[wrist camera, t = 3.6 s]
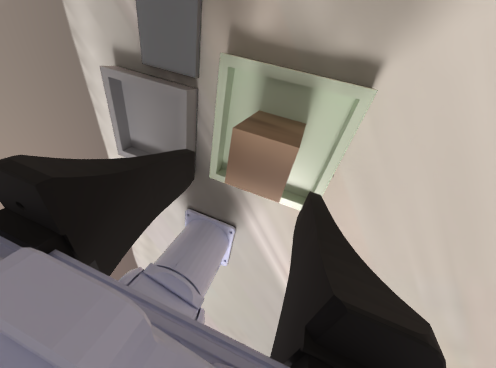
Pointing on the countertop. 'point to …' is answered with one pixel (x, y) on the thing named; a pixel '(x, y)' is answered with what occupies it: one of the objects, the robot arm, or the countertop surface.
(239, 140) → the walnut block
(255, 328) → the countertop surface
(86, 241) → the robot arm
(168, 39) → the slate coaster
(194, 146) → the grey tray
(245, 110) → the green tray
